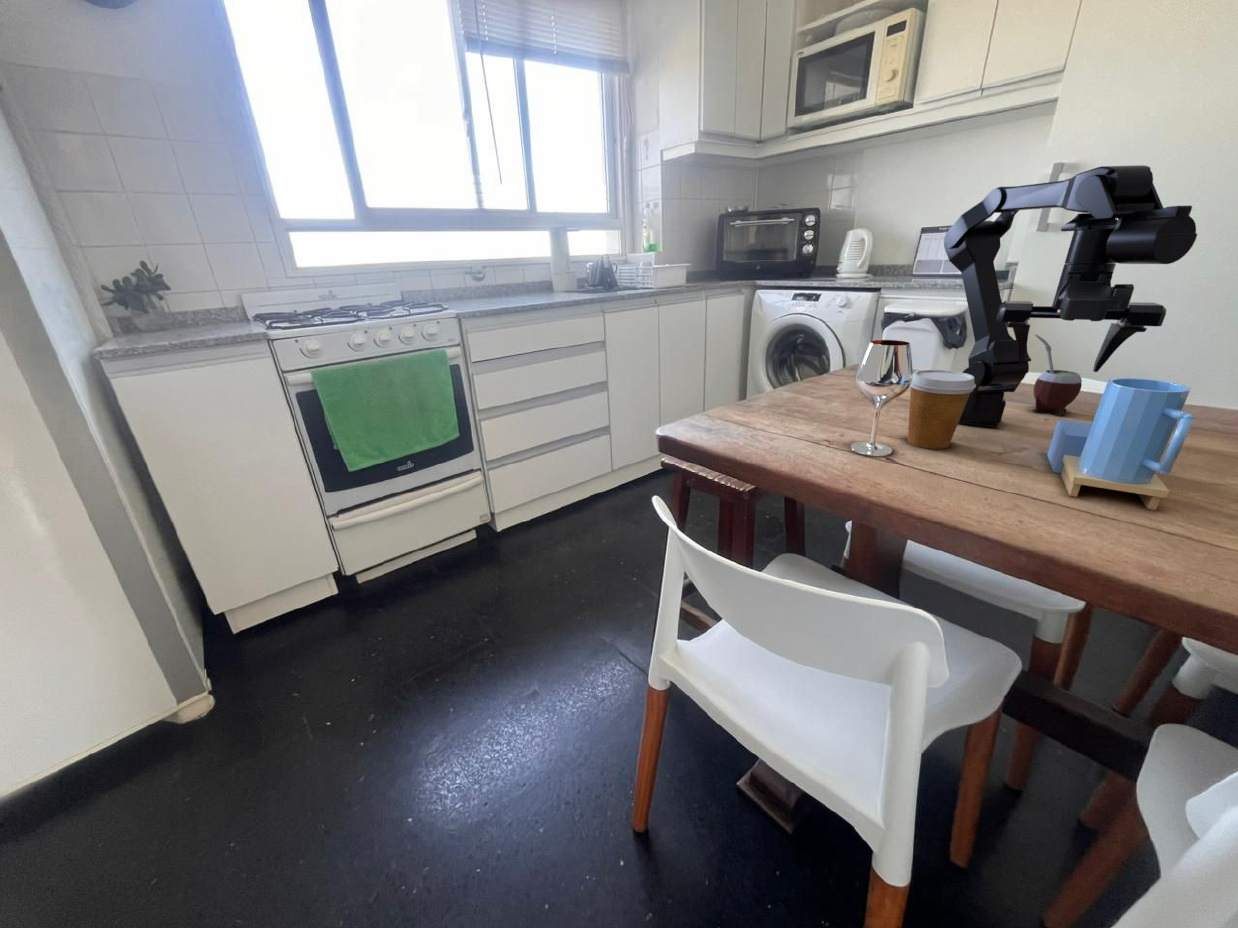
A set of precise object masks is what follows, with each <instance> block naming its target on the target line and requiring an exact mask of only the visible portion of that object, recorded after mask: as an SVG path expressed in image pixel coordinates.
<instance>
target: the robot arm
mask: <svg viewBox="0 0 1238 928" xmlns="http://www.w3.org/2000/svg"><path fill="white" fill-rule="evenodd" d="M1153 174H1154V173H1153V171H1152V170H1151V167H1150V166H1148V165H1144V164H1143V165H1141V164H1140V165H1103V166H1101V165H1100V166H1097V167H1095V168H1091V169H1089V170H1085V171H1082V172H1078V173H1077V174H1075V175H1074V176H1072V177H1071V178H1070V177H1069V178H1067V179H1065V180H1057V181H1050V182H1049V181H1048V182H1041V183H1034V184H1033V183H1031V184H1024V185H1017V186H1015V185H1014V186H1013V185H1011V186H998V187H995V188H994V189H992V190H991V191H989V192H988V193H987V195H986V196H985V197H984V198H983V199H982V200H981V201H980V202H979V203H977V204H975V205H974V206H972V207H971V208H970V209H968V210H967V211H965V212H964V213H962V214H961V215H960V216H959V218H958V219H956V221H955V222H954V223H953V225H951V227H950V228H949V229H948V230H947V232H946V233H945V235H944V239H943V247H944V251H945V253H946V256H947V258H948V261H949V263H951V264H952V265H953V266H954V267H955V268H956V269H957V270H958V271H959V272H960V273H961V278H962V282H963V287H964V293H965V297H966V303H967V309H968V313H969V317H970V322H971V328H972V333H973V337H974V338H973V339H974V344H973V347H972V348H971V351H970V353H969V355H968V359H967V360H968V361H967V362H968V367H966V368H965V369H964V370H963V371H961V372H962V373H966V374H970V375H972V376H974V384H975V385H976V387H975V388H974V389H973V391H972V392H971V393H970V395H969V398H968V400H967V403H966V405H965V408H964V410H963V413H962V415H961V418H960V420H959V422H958V425H967V426H976V427H983V428H991V429H997V428H998V424H1000V423H1002V419H1003V415H1004V412H1005V408H1006V404H1007V402H1006V401H1007V400H1006V399H1005V398H1004V397H1005V393H1015V392H1016V390H1017V389H1018V387H1019V386H1020V384H1021V382H1022V381H1023V380H1024V379H1025V377H1026V375H1027V374H1028V373H1029V369H1030V364H1029V362H1032V358H1031V357H1030V355H1029V352H1028V340H1029V334H1030V328H1031V324H1030V322H1028V321H1030V319H1061V320H1063V321H1067V322H1069V321H1071V322H1072V321H1075V320H1076V321H1077V320H1083V321H1090V322H1101V321H1116V322H1111V323H1110V326H1109V328H1108V330H1107V331H1106V332H1107V333H1106V335H1105V337H1104V340H1103V342H1102V344H1101V347H1100V349H1099V351H1098V353H1097V355H1096V358H1095V362H1094V365H1093V369H1092V372H1094V373H1098V372H1099V370H1100V369H1102V367H1103V366H1104V365H1105V363H1106V362H1107V361H1108V360H1109V359H1110V357H1112V355H1113V354H1114V352H1115V351H1117V349H1118V348H1119V347H1120V346H1121V345H1123V343H1125V342H1126V340H1127V339H1129V338H1130V337H1132V336H1133V335H1135V334H1136V333H1145V332H1146V331H1147V330H1148V328H1147V327H1162V325H1163V323H1164V321H1165V318H1166V315H1167V309H1166V308H1165V306H1164V304H1160V303H1156V302H1139V301H1138V302H1135V301H1134V302H1133V301H1131V299H1132V296H1133V293H1134V290H1135V286H1134V284H1133V283H1130V284H1129V283H1116V284H1114V285H1113V286H1112V279H1113V274H1114V271H1115V269H1116V265H1117V264H1119V265H1170V264H1173V263H1176V262H1178V261H1179V260H1181V259H1182V258H1183V257H1185V256H1186V255H1187V253H1189V252H1190V250H1191V249H1192V248H1193V246H1194V244H1195V242H1196V240H1197V237H1198V233H1197V226H1196V225H1197V224H1196V222H1195V220H1194V218H1193V217H1192V216H1190V214H1191V211H1192V210H1193V206H1192V205H1191V204H1190V205H1171V206H1166V207H1164V206H1163V204H1162V201H1161V199H1160V196H1159V194H1158V191H1157V189H1156V186H1155V185H1154V184H1155V183H1154V175H1153ZM1055 208H1056V209H1057V208H1058V209H1059V208H1060V209H1064V210H1066V211H1070V212H1077V214H1076V215H1075V217H1073V218H1072V219H1071V220H1069V221H1068V222H1066V223H1065V224H1064V225H1062V226H1061V228H1060V231H1061V232H1073V233H1072V237H1071V240H1070V244H1069V247H1068V251H1067V253H1066V257H1065V260H1064V264H1063V267H1062V271H1061V274H1060V278H1059V280H1058V284H1057V287H1056V290H1055V291H1056V292H1055V294H1054V297H1053V301H1052V305H1034V303H1033V302H1032V301H1031V300H1004V301H1002V297H1001V292H1000V286H999V283H998V277H997V272H996V267H995V259H996V258H997V255H998V253H999V251H1000V249H1001V238H1003V237H1004V235H1005V234H1006V233H1008V232H1009V230H1010V229H1011V228H1012V225H1013V222H1014V219H1015V216H1016V215H1017V214H1018V213H1019V211H1027V210H1029V211H1030V210H1040V209H1042V210H1044V209H1055ZM998 213H999V215H998V216H997V218H996V219H994V220H988V219H990V218H991V217H992V216H993V215H994V214H998ZM1009 328H1011V329H1012V330H1013V333H1014V336H1015V339H1014V338H1013V337H1012V336H1011V335H1010V334H1009V330H1008V329H1009Z"/></svg>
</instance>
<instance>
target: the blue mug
mask: <svg viewBox="0 0 1238 928" xmlns="http://www.w3.org/2000/svg"><path fill="white" fill-rule="evenodd" d="M1190 392H1191V387H1188V386H1186V385H1183V384H1180V383H1175V382H1170V381H1164V380H1158V379H1151V378H1150V379H1148V378H1138V377H1137V378H1136V377H1116V378H1115V377H1114V378H1110V379H1109V380H1107V382H1106V385H1105V387H1104V390H1103V393H1102V396H1101V399H1100V401H1099V404H1098V407H1097V410H1096V413H1095V415H1094V418H1093V421H1092V423H1093V424H1092V426H1091V429H1090V432H1089V435H1088V438H1087V440H1086V443H1085V446H1084V449H1083V452H1082V454H1081V457H1080V460H1079V464H1078V468H1079V469H1080V470H1081V471H1083V472H1085V473H1087V474H1089V475H1092V476H1095V477H1098V478H1101V479H1105V480H1109V481H1114V482H1120V483H1129V484H1145V483H1149V482H1151V480H1152V478H1153V476H1154V474H1156V473H1158V474H1161V475H1165V476H1166V475H1169V474H1170V473H1171V472H1172V470H1173V468H1174V465H1175V463H1176V462H1177V461H1176V460H1177V458H1178V456H1179V455H1180V452H1181V449H1182V447H1183V445H1184V443H1185V440H1186V438H1187V436H1188V434H1189V431H1190V430H1191V427H1192V425H1193V422H1194V421H1195V415H1193V414H1192V413H1189V412H1186V411H1183V408H1184V406H1185V404H1186V401H1187V399H1188V397H1189V394H1190ZM1178 421H1179V422H1178ZM1176 425H1177V426H1176ZM1175 427H1176V429H1175ZM1174 429H1175V431H1174ZM1173 431H1174V433H1173ZM1172 434H1173V435H1172ZM1171 436H1172V437H1171ZM1170 438H1171V440H1170ZM1169 441H1170V442H1169ZM1168 443H1169V444H1168ZM1167 445H1168V447H1167ZM1166 448H1167V450H1166ZM1165 450H1166V452H1165ZM1164 452H1165V454H1164ZM1163 454H1164V456H1163ZM1162 457H1163V459H1162ZM1161 460H1162V461H1161Z"/></svg>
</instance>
